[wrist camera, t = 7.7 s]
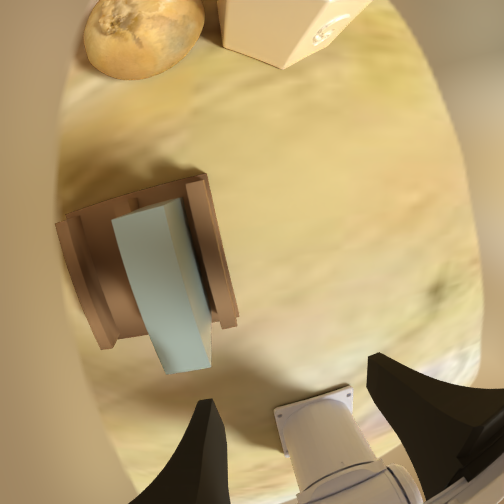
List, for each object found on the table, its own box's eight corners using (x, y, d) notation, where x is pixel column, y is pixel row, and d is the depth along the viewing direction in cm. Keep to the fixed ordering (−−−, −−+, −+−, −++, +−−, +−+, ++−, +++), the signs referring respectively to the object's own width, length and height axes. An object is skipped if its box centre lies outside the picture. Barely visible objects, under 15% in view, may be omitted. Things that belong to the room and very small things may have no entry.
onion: (98, 25, 14) (64, -18, 7) (195, -6, 14) (191, -62, 7) (107, 105, 16) (60, 75, 9) (215, 71, 16) (217, 20, 9)
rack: (238, 310, 21) (241, 330, 18) (112, 334, 20) (101, 354, 17) (206, 173, 18) (205, 172, 15) (71, 212, 17) (51, 218, 14)
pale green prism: (211, 310, 19) (211, 367, 13) (179, 317, 19) (166, 374, 13) (182, 196, 17) (163, 205, 11) (147, 205, 17) (111, 220, 11)
